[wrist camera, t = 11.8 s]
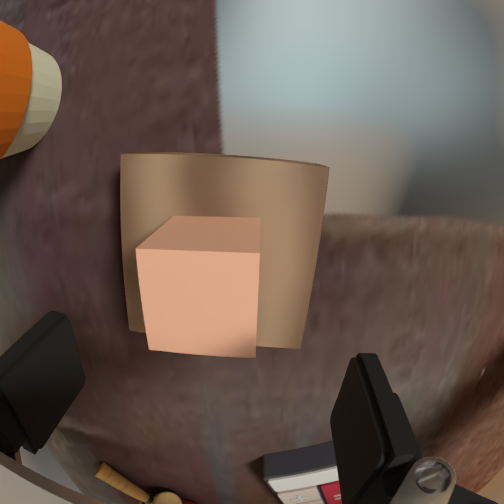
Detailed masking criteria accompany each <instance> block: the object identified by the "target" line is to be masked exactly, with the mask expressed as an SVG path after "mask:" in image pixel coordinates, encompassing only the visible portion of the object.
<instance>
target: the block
mask: <svg viewBox="0 0 504 504" xmlns="http://www.w3.org/2000/svg"><path fill="white" fill-rule="evenodd" d="M136 260H137V269H138V278H139V286H140V294H141V302H142V309H143V316H144V322H145V328H146V335H147V340H148V346H149V350H157V351H166V352H176V353H186V354H198V355H211V356H226V357H246V358H255V357H256V335H257V312H258V289H259V265H260V218H244V217H207V216H173V217H172V218H171V219H169V220H168V221H167V222H166V223H165V224H163V225H162V226H161V227H160V228H159V229H158V230H156V231H155V232H154V233H153V234H152V235H151V236H149V237H148V238H147V239H146V240H145V241H144V242H142V243H141V244H140V245H139V246H138V247H137V248H136Z"/></svg>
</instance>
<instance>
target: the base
mask: <svg viewBox="0 0 504 504" xmlns="http://www.w3.org/2000/svg"><path fill="white" fill-rule="evenodd" d="M328 176H329V167H327V166H324V165H320V164H317V163H309V162H301V161H293V160H284V159H274V158H263V157H252V156H238V155H224V154H223V155H220V154H201V153H173V152H137V153H127V154H121V172H120V211H121V241H122V259H123V273H124V285H125V295H126V305H127V313H128V322H129V329H130V331H136V332H142V333H146V328H145V322H144V316H143V309H142V302H141V294H140V286H139V278H138V269H137V260H136V248H137V247H138V246H139V245H140V244H141V243H142V242H144V241H145V240H146V239H147V238H148V237H149V236H151V235H152V234H153V233H154V232H155V231H156V230H158V229H159V228H160V227H161V226H162V225H163V224H165V223H166V222H167V221H168V220H169V219H171V218H172V217H173V216H207V217H244V218H260V265H259V289H258V312H257V335H256V346H263V347H279V348H297V349H300V347H301V342H302V338H303V333H304V328H305V322H306V317H307V312H308V307H309V301H310V296H311V290H312V285H313V279H314V273H315V267H316V261H317V255H318V248H319V242H320V235H321V229H322V222H323V215H324V207H325V199H326V192H327V184H328Z"/></svg>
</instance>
